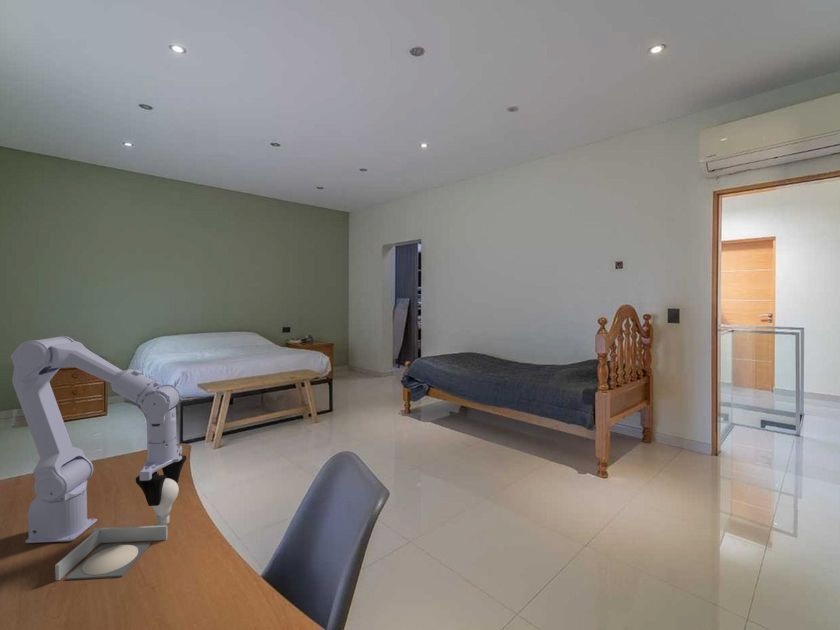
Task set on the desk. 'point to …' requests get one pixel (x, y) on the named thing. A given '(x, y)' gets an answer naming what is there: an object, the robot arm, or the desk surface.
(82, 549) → the acrylic fence
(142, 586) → the desk surface
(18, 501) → the desk surface
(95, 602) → the desk surface
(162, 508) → the lightbulb
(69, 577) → the mat
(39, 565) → the desk surface
